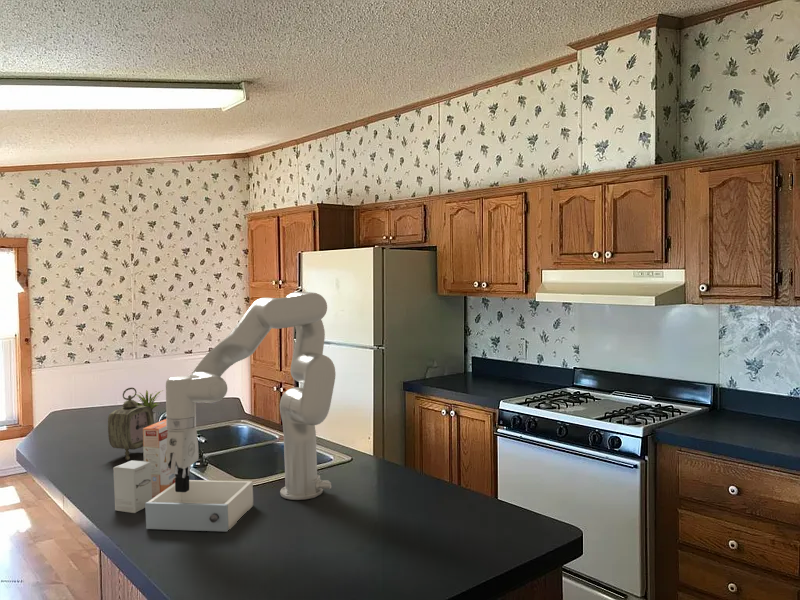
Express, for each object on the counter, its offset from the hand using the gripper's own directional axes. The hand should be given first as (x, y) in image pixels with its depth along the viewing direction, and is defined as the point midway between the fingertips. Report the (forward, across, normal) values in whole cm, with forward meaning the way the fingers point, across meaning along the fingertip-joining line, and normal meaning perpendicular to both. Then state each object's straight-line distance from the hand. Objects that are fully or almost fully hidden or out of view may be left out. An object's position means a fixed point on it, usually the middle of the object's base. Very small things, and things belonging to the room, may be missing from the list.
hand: (182, 491), depth 181 cm
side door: (+8, -6, -4) cm, 11 cm away
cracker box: (+9, +25, +17) cm, 31 cm away
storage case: (+8, +5, -4) cm, 10 cm away
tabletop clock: (+9, +60, +48) cm, 77 cm away
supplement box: (+9, +10, +19) cm, 23 cm away
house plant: (+8, +103, +64) cm, 121 cm away
